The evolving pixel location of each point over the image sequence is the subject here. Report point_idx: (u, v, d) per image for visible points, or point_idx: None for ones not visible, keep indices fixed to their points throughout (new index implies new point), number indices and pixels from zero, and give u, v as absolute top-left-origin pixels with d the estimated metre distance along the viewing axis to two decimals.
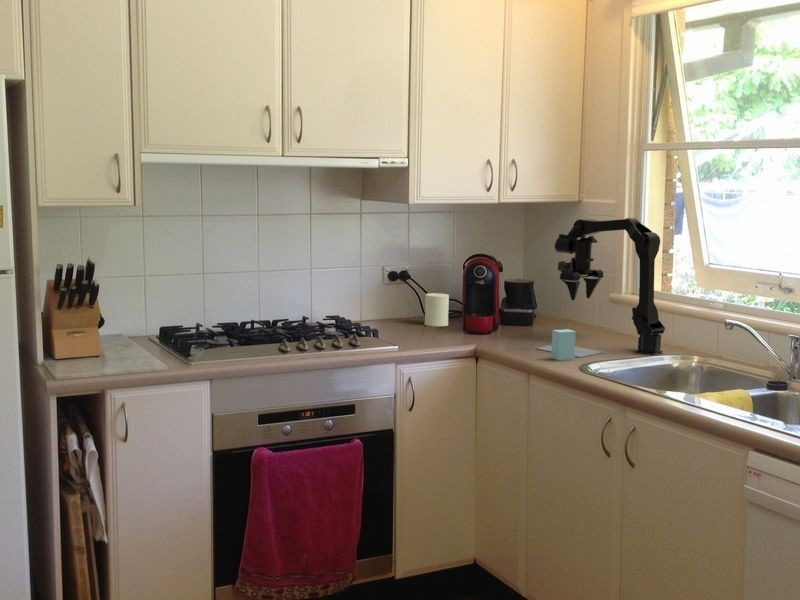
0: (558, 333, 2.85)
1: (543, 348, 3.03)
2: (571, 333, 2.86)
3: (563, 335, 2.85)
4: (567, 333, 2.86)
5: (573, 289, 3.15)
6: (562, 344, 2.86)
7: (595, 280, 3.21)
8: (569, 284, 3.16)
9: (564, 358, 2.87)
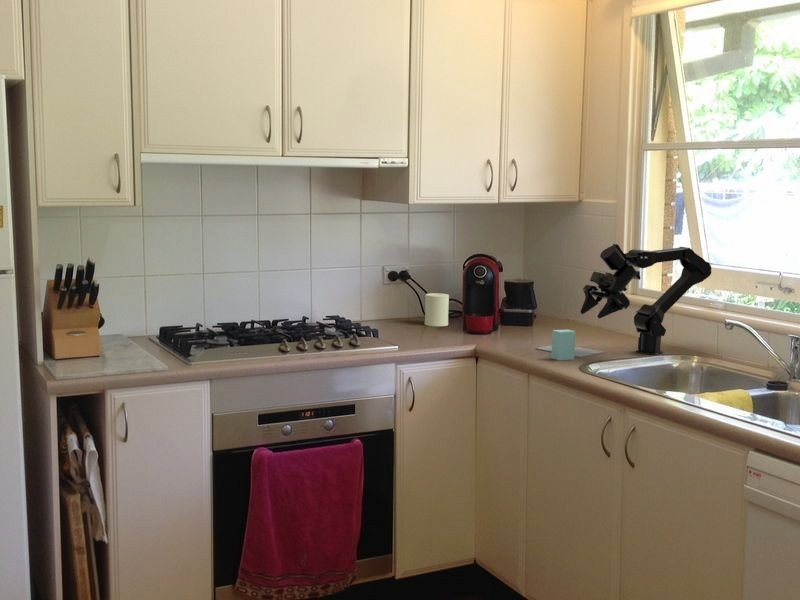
0: (558, 333, 2.85)
1: (543, 348, 3.03)
2: (571, 333, 2.86)
3: (563, 335, 2.85)
4: (567, 333, 2.86)
5: (610, 310, 2.87)
6: (562, 344, 2.86)
7: (596, 303, 2.98)
8: (610, 303, 2.86)
9: (564, 358, 2.87)
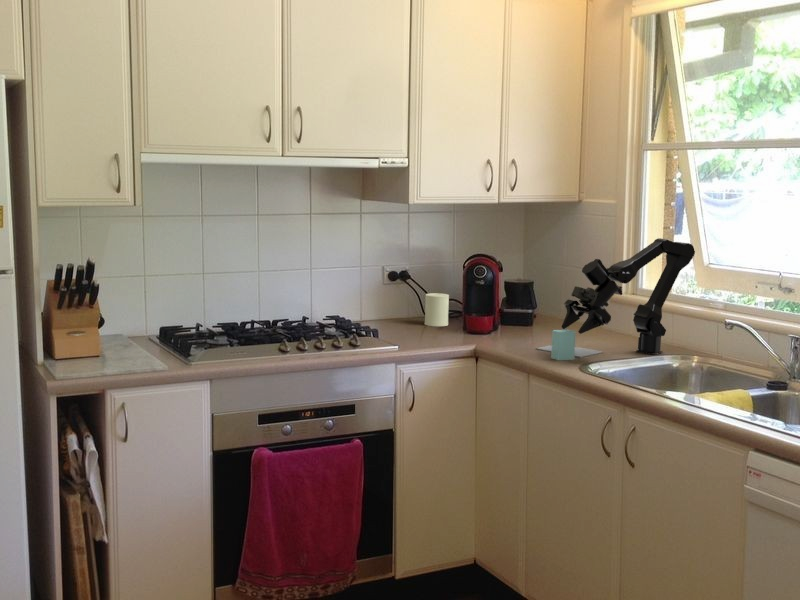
0: (558, 333, 2.85)
1: (543, 348, 3.03)
2: (571, 333, 2.86)
3: (563, 335, 2.85)
4: (567, 333, 2.86)
5: (591, 326, 2.84)
6: (562, 344, 2.86)
7: (578, 318, 2.95)
8: (591, 319, 2.84)
9: (564, 358, 2.87)
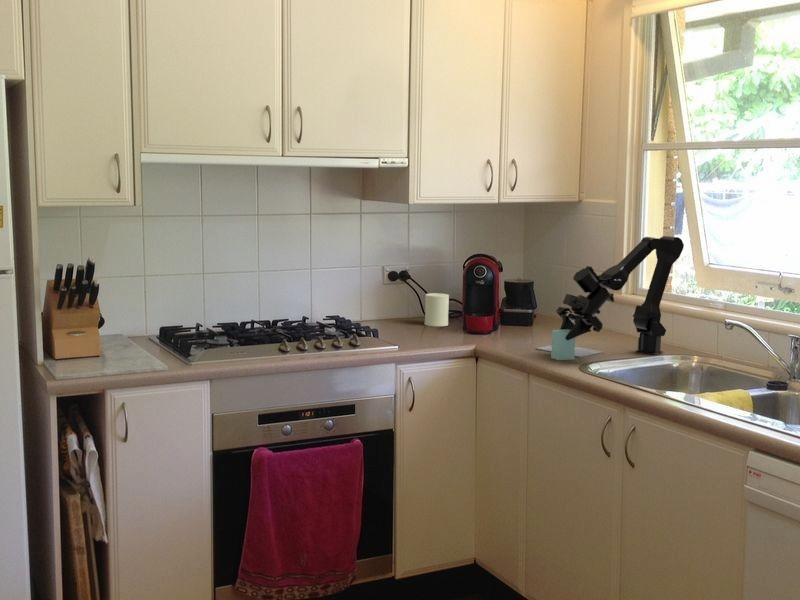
0: (558, 333, 2.85)
1: (543, 348, 3.03)
2: None
3: (563, 335, 2.85)
4: (567, 333, 2.86)
5: (578, 332, 2.86)
6: (562, 344, 2.86)
7: None
8: (578, 325, 2.85)
9: (564, 358, 2.87)
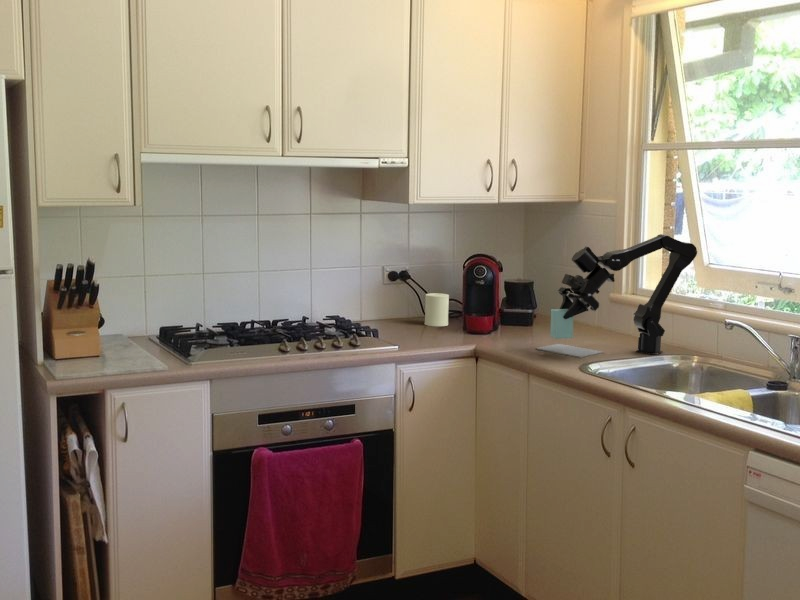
0: (555, 312, 2.91)
1: (543, 348, 3.03)
2: None
3: (561, 314, 2.91)
4: (565, 312, 2.91)
5: (575, 312, 2.91)
6: (560, 323, 2.91)
7: None
8: (576, 305, 2.90)
9: (562, 337, 2.92)
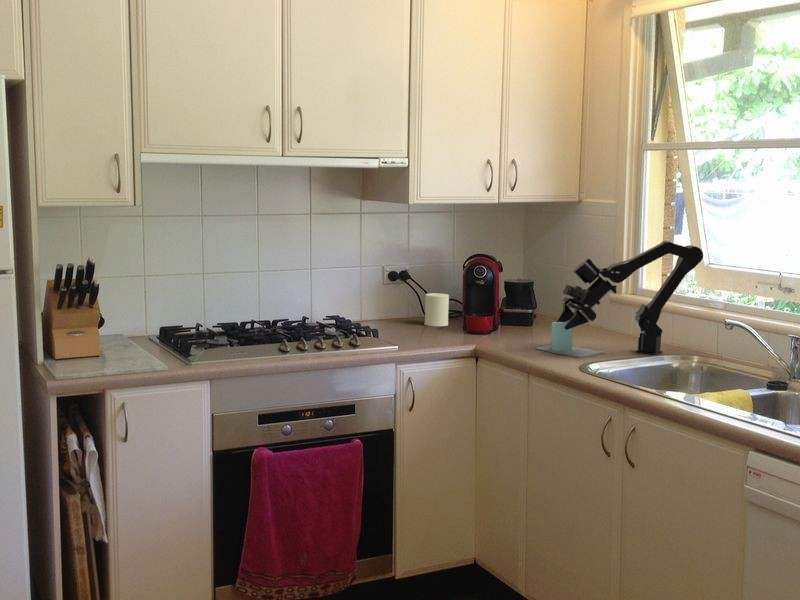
0: (555, 325, 2.98)
1: (543, 348, 3.03)
2: None
3: (560, 327, 2.98)
4: (564, 325, 2.98)
5: (576, 323, 2.95)
6: (559, 335, 2.98)
7: None
8: (577, 316, 2.94)
9: (561, 349, 2.99)
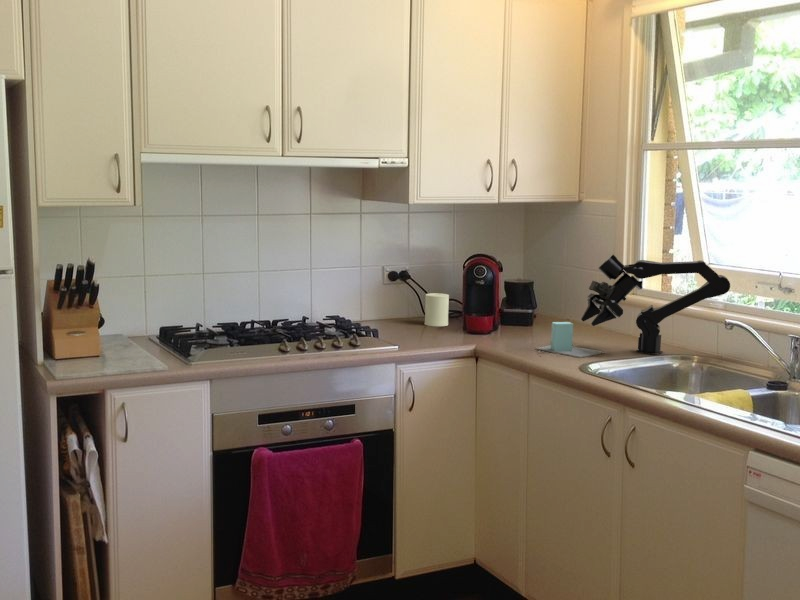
0: (555, 325, 2.98)
1: (543, 348, 3.03)
2: (568, 325, 2.98)
3: (560, 327, 2.98)
4: (564, 325, 2.98)
5: (603, 319, 2.96)
6: (559, 335, 2.98)
7: (599, 311, 3.07)
8: (604, 312, 2.95)
9: (561, 349, 2.99)
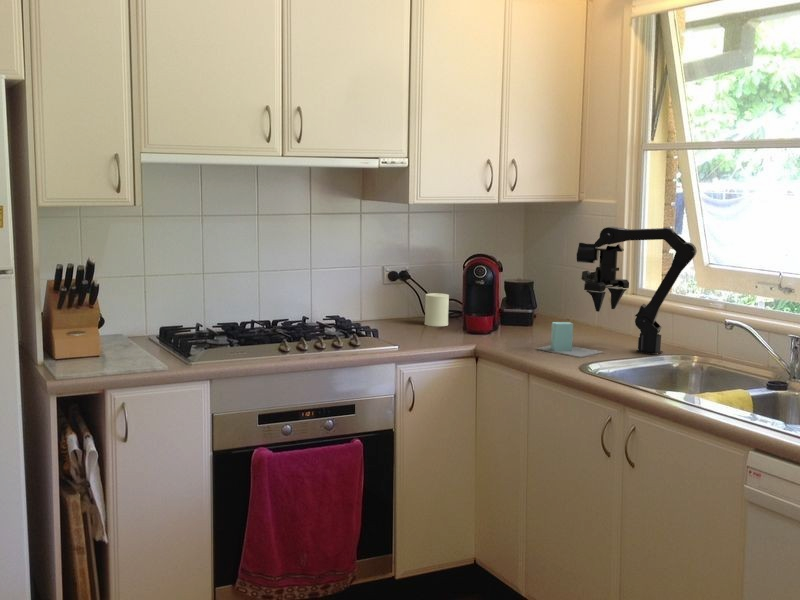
0: (555, 325, 2.98)
1: (543, 348, 3.03)
2: (568, 325, 2.98)
3: (560, 327, 2.98)
4: (564, 325, 2.98)
5: (598, 300, 3.01)
6: (559, 335, 2.98)
7: (621, 290, 3.07)
8: (594, 295, 3.02)
9: (561, 349, 2.99)
